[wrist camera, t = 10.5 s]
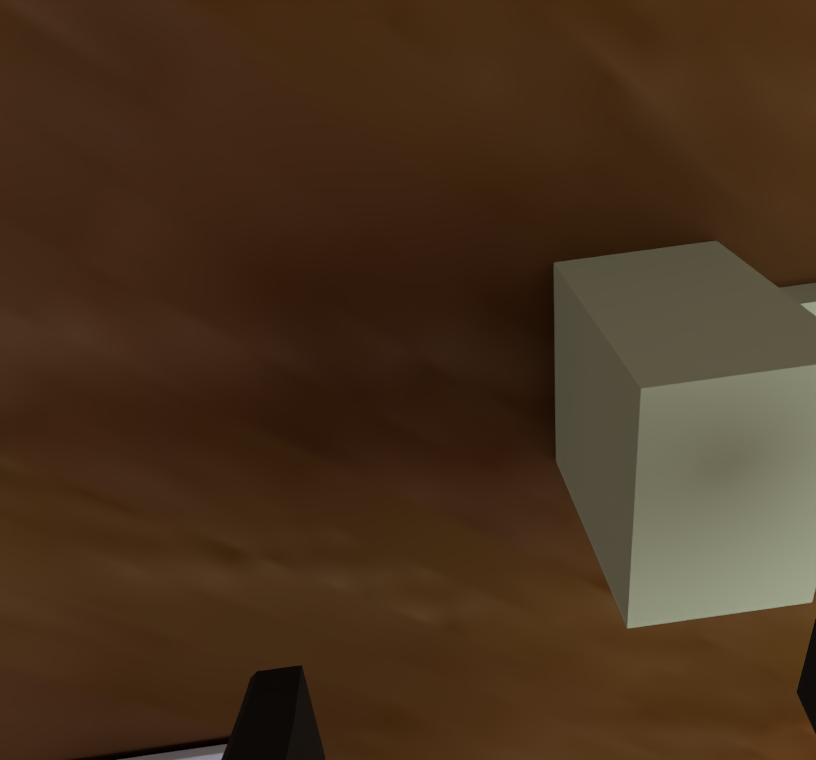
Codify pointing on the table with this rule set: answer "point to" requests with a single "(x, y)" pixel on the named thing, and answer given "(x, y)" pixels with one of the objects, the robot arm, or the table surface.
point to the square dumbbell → (689, 429)
